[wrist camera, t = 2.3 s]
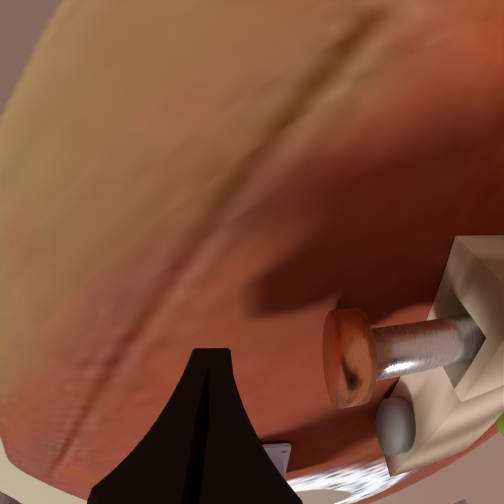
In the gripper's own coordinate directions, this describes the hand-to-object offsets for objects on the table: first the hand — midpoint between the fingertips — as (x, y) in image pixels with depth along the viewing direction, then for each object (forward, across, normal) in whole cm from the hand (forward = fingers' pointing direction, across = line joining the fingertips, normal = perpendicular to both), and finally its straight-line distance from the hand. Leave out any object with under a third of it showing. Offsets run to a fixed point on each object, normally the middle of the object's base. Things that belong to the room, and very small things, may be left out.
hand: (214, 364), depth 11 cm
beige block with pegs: (+2, -16, +4) cm, 17 cm away
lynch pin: (+2, -11, 0) cm, 11 cm away
